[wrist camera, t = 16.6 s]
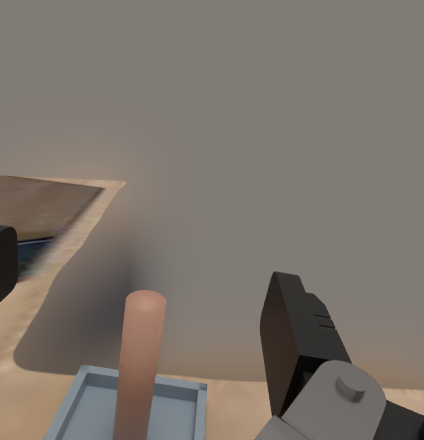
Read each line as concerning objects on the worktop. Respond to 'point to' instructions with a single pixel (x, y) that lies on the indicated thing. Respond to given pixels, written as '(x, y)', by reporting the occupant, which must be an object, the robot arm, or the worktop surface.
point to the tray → (106, 404)
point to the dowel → (138, 363)
